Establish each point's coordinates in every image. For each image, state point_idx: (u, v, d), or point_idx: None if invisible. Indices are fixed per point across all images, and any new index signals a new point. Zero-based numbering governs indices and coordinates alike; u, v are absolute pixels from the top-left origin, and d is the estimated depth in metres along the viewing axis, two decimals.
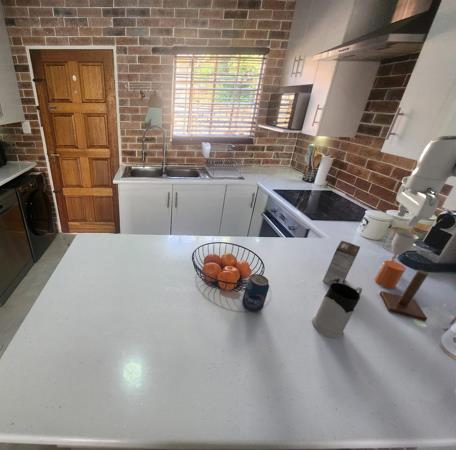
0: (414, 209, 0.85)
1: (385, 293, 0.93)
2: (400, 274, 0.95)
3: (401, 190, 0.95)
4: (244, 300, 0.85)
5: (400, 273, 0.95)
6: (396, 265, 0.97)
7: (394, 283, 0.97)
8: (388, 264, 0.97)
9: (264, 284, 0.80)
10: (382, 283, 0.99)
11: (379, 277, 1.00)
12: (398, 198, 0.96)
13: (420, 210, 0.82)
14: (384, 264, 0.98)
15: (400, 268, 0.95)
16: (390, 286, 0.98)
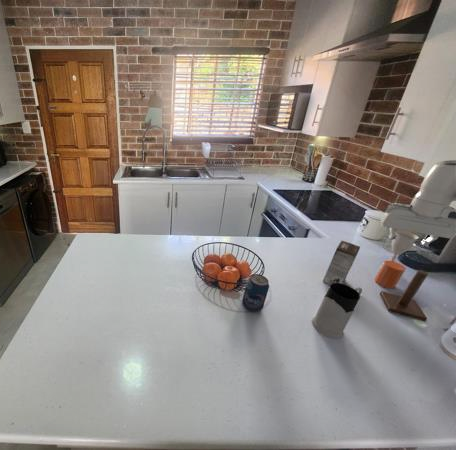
0: None
1: (385, 293, 0.93)
2: (400, 274, 0.95)
3: None
4: (244, 300, 0.85)
5: (400, 273, 0.95)
6: (396, 265, 0.97)
7: (394, 283, 0.97)
8: (388, 264, 0.97)
9: (264, 284, 0.80)
10: (382, 283, 0.99)
11: (379, 277, 1.00)
12: None
13: None
14: (384, 264, 0.98)
15: (400, 268, 0.95)
16: (390, 286, 0.98)
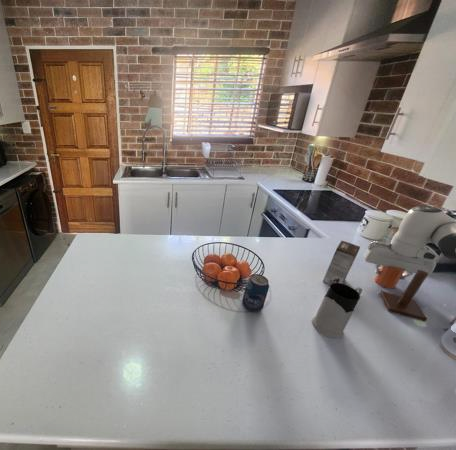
0: None
1: (385, 293, 0.93)
2: (400, 274, 0.95)
3: None
4: (244, 300, 0.85)
5: (400, 273, 0.95)
6: None
7: (394, 283, 0.97)
8: None
9: (264, 284, 0.80)
10: (382, 283, 0.99)
11: (379, 277, 1.00)
12: None
13: None
14: None
15: None
16: (390, 286, 0.98)
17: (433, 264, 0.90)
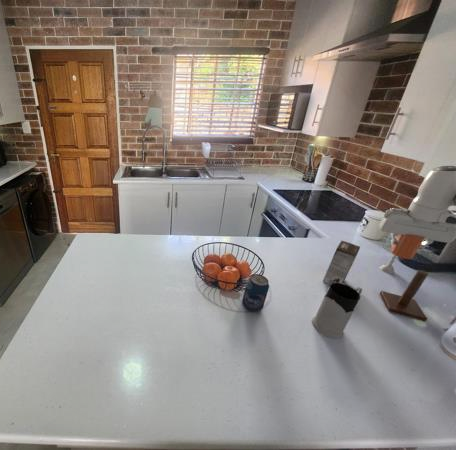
0: None
1: (385, 293, 0.93)
2: (419, 242, 0.89)
3: None
4: (244, 300, 0.85)
5: (419, 241, 0.88)
6: None
7: (413, 253, 0.91)
8: None
9: (264, 284, 0.80)
10: (399, 254, 0.93)
11: (396, 247, 0.93)
12: None
13: None
14: None
15: None
16: (408, 256, 0.91)
17: None
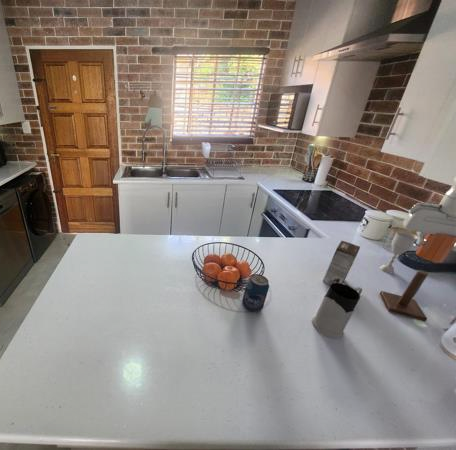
0: None
1: (385, 293, 0.93)
2: (452, 243, 0.75)
3: None
4: (244, 300, 0.85)
5: (453, 242, 0.75)
6: None
7: (443, 255, 0.77)
8: None
9: (264, 284, 0.80)
10: (427, 256, 0.79)
11: (423, 249, 0.80)
12: None
13: None
14: None
15: (452, 236, 0.75)
16: (438, 259, 0.78)
17: None
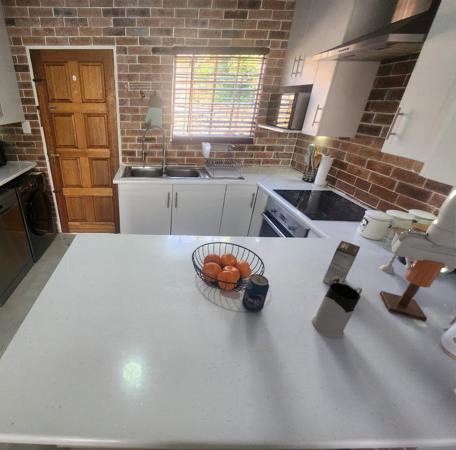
0: None
1: (385, 293, 0.93)
2: (439, 270, 0.78)
3: None
4: (244, 300, 0.85)
5: (439, 269, 0.78)
6: None
7: (430, 281, 0.80)
8: None
9: (264, 284, 0.80)
10: (415, 281, 0.82)
11: (411, 274, 0.83)
12: None
13: None
14: None
15: (439, 263, 0.78)
16: (425, 285, 0.81)
17: None
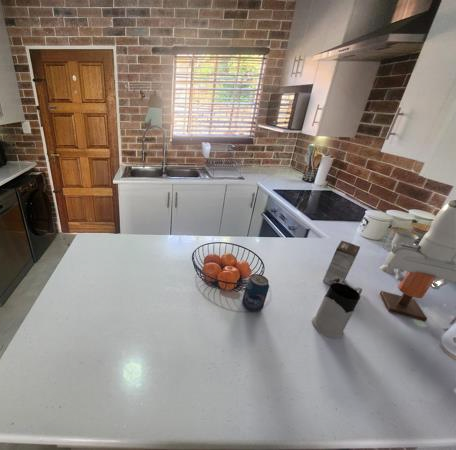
0: None
1: (385, 293, 0.93)
2: (431, 282, 0.80)
3: None
4: (244, 300, 0.85)
5: (431, 280, 0.80)
6: None
7: (423, 292, 0.82)
8: None
9: (264, 284, 0.80)
10: (408, 292, 0.84)
11: (404, 285, 0.85)
12: None
13: None
14: None
15: None
16: (418, 296, 0.83)
17: None
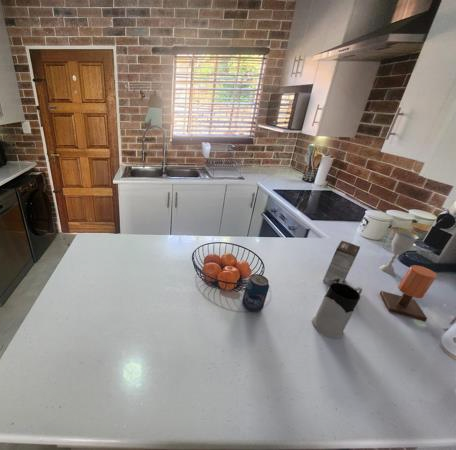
0: None
1: (385, 293, 0.93)
2: (431, 282, 0.80)
3: None
4: (244, 300, 0.85)
5: (431, 280, 0.80)
6: (425, 271, 0.82)
7: (423, 292, 0.82)
8: (416, 270, 0.82)
9: (264, 284, 0.80)
10: (408, 292, 0.84)
11: (404, 285, 0.85)
12: None
13: None
14: (411, 270, 0.83)
15: (431, 274, 0.80)
16: (418, 296, 0.83)
17: None
